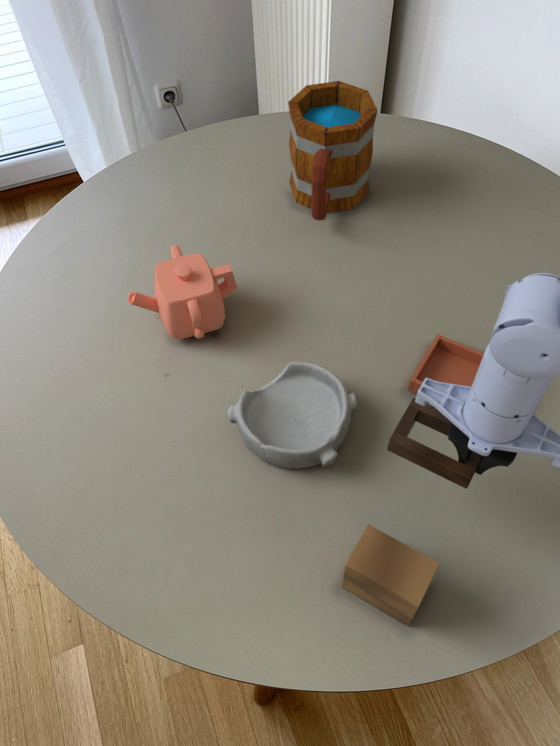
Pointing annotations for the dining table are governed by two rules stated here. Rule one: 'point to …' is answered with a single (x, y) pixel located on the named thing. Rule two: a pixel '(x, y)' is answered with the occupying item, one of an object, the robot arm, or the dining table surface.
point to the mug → (331, 146)
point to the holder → (447, 364)
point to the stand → (388, 574)
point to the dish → (295, 417)
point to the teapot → (188, 294)
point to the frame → (426, 455)
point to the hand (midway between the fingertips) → (472, 462)
